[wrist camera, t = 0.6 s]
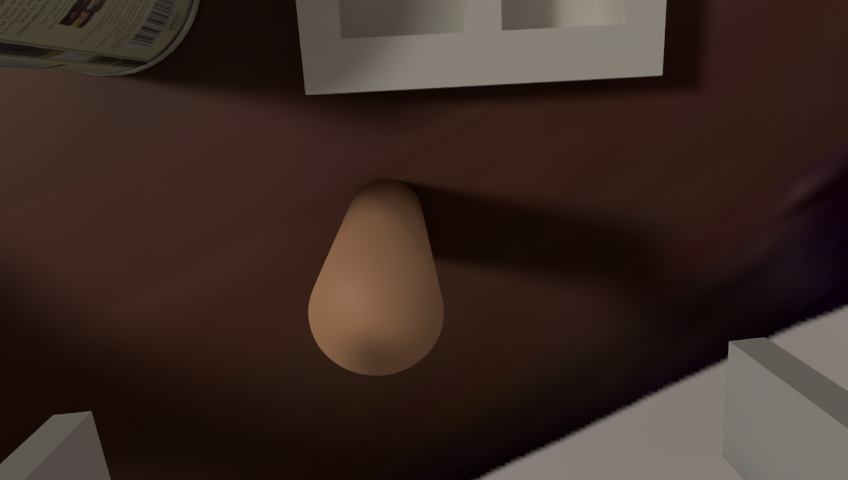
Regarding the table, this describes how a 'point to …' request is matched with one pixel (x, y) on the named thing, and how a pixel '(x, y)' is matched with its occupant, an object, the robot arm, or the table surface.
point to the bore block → (475, 42)
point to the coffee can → (92, 34)
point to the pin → (378, 285)
